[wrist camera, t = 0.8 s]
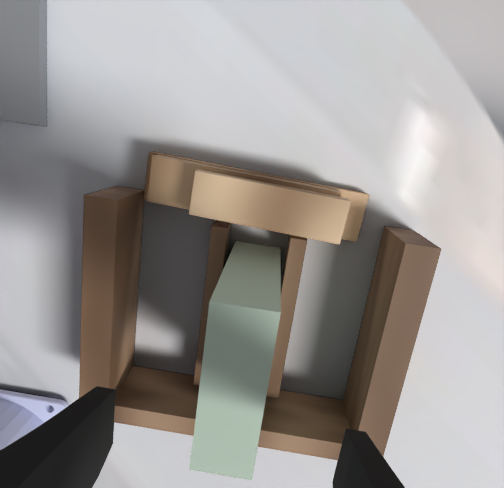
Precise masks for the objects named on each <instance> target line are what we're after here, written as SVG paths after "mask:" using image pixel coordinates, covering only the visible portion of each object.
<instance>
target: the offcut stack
mask: <svg viewBox="0 0 504 488" xmlns="http://www.w3.org/2000/svg"><path fill="white" fill-rule="evenodd" d="M368 198H369V195H368V194H367V193H362V192H357V191H352V190H347V189H342V188H337V187H331V186H326V185H321V184H316V183H311V182H306V181H301V180H296V179H291V178H286V177H281V176H276V175H270V174H265V173H260V172H255V171H250V170H245V169H240V168H235V167H230V166H225V165H220V164H214V163H209V162H204V161H199V160H194V159H189V158H184V157H179V156H174V155H169V154H164V153H159V152H153V151H152V152H149V156H148V165H147V174H146V183H145V191H144V200H147V201H148V202H153V203H158V204H163V205H168V206H173V207H178V208H183V209H188V210H189V215H194V216H199V217H204V218H209V219H214V220H219V221H224V222H229V223H234V224H239V225H244V226H249V227H254V228H259V229H264V230H269V231H274V232H279V233H284V234H289V235H294V236H299V237H304V238H309V239H314V240H319V241H324V242H329V243H335V244H340V242H341V239H345V240H350V241H355V242H357V239H358V235H359V232H360V228H361V224H362V220H363V217H364V213H365V209H366V206H367V202H368Z"/></svg>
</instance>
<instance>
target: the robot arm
mask: <svg viewBox="0 0 504 488" xmlns="http://www.w3.org/2000/svg"><path fill="white" fill-rule="evenodd" d="M115 395H116V389H111V388H105V387H99V386H96V387H95V388H93V389H92V390H90V391H89V392H88V393H86V394H85V395H83V396H82V397H80V398H79V399H78V400H76V401H75V402H73V403H72V404H70V405H69V406H68V404H67V403H66V402H65V401H63V400H60V399H54V398H48V397H42V396H36V395H30V394H24V393H18V392H12V391H6V390H1V389H0V488H92V487H93V485H94V483H95V481H96V480H97V478H98V476H99V474H100V471H101V469H102V467H103V465H104V463H105V460H106V458H107V456H108V453H109V451H110V449H111V446H112V444H113V430H114V412H115ZM50 406H52V407H53V408H51V407H50ZM333 488H405V487H404V486H403V484H402V483H401V482H400V480H399V479H398V478H397V476H396V475H395V473H394V472H393V471H392V469H391V468H390V466H389V465H388V463H387V462H386V460H385V459H384V458H383V456H382V455H381V453H380V452H379V450H378V449H377V447H376V446H375V444H374V443H373V441H372V440H371V439H370V437H369V436H368V434H367V433H366V432H364V431H358V430H353V429H347V428H346V430H345V434H344V438H343V442H342V446H341V450H340V454H339V458H338V462H337V466H336V470H335V474H334V478H333Z"/></svg>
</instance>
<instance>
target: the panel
mask: <svg viewBox="0 0 504 488" xmlns="http://www.w3.org/2000/svg"><path fill="white" fill-rule="evenodd" d="M280 315H281V265H280V248H277V247H270V246H264V245H257V244H250V243H244V242H237V241H236V242H235V244H234V246H233V249H232V251H231V253H230V255H229V258H228V260H227V262H226V265H225V267H224V269H223V271H222V274H221V276H220V278H219V281H218V283H217V285H216V288H215V290H214V292H213V294H212V297H211V299H210V301H209V310H208V318H207V327H206V335H205V344H204V352H203V360H202V369H201V377H200V386H199V394H198V403H197V411H196V419H195V428H194V436H193V445H192V453H191V462H190V470H195V471H201V472H207V473H213V474H218V475H224V476H230V477H236V478H242V479H248V480H252V476H253V471H254V465H255V459H256V453H257V447H258V442H259V436H260V430H261V424H262V419H263V413H264V407H265V401H266V396H267V390H268V384H269V378H270V372H271V367H272V361H273V355H274V349H275V344H276V338H277V332H278V326H279V321H280Z"/></svg>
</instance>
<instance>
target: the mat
mask: <svg viewBox="0 0 504 488" xmlns="http://www.w3.org/2000/svg"><path fill="white" fill-rule="evenodd" d="M0 120H4V121H11V122H17V123H24V124H31V125H38V126H47V0H0Z"/></svg>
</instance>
